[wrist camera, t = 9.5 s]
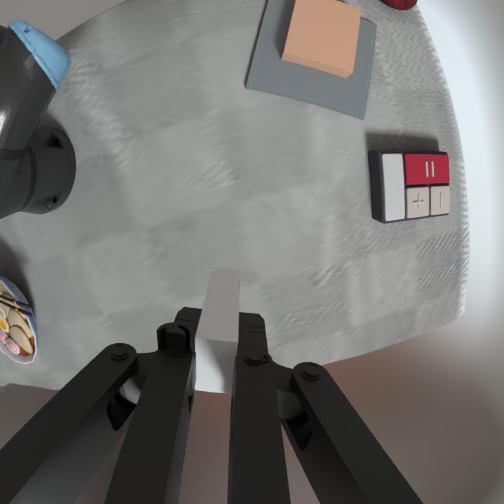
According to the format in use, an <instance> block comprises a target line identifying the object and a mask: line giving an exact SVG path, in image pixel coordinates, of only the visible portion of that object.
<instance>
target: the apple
mask: <svg viewBox="0 0 504 504" xmlns="http://www.w3.org/2000/svg"><path fill="white" fill-rule="evenodd" d="M381 1H382V2H383V3H384V4H386V5H387V6H389V7H391V8H394V9H398V10H408V9H410V8H412V7H413V6H415V4H416V3H417V0H381Z"/></svg>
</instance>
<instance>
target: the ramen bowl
mask: <svg viewBox="0 0 504 504" xmlns="http://www.w3.org/2000/svg"><path fill="white" fill-rule="evenodd" d="M37 348H38V335H37V323H36V320H35V318H34V315H33V312H32V309H31V307H30V305H29V304H28V302H27V300H26V299H25V297H24V295H23V294H22V293H21V291H20V290H19V289H18V288H17V287H16V286H15V285H14V283H12V282H11V281H9V280H8V279H6V278H5V277H3V276H1V275H0V350H1V351H2V352H3V353H4V354H5V355H7V356H8V357H9V358H11V359H12V360H13V361H16V362H19V363H22V364H28V363H31V362H33V361H34V358H35V356H36V353H37Z"/></svg>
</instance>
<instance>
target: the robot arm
mask: <svg viewBox="0 0 504 504" xmlns="http://www.w3.org/2000/svg"><path fill="white" fill-rule="evenodd" d="M70 64H71V57H70V54H69V53H68V52H67V51H66V50H65V49H64V48H63V47H62V46H61V45H59V44H58V43H57V42H55V41H54V40H52V39H51V38H50V37H49V36H47V35H46V34H44V33H43V32H41V31H40V30H38V29H37V28H34V27H33V26H31V25H30V24H28V23H27V22H25V21H23V20H21V19H14V20H13V21H12V22H11V23H9V25H8V28H6V27H3V26H1V25H0V219H1V218H3V217H6V216H9V215H11V214H14V213H16V212H19V211H21V212H27V213H33V214H44V213H48V212H50V211H53V210H55V209H57V208H59V207H60V206H61V205H62V204H63V203H64V202H65V200H66V199H67V197H68V196H69V194H70V192H71V189H72V187H73V183H74V179H75V171H76V161H75V154H74V150H73V147H72V145H71V143H70V141H69V139H68V138H67V136H66V135H65V134H64V133H62V132H61V131H59V130H57V129H53V128H40V129H37V127H38V125H39V123H40V121H41V119H42V117H43V115H44V113H45V111H46V109H47V107H48V105H49V103H50V101H51V100H52V98H53V96H54V94H55V93H56V92H57V91H58V90H59V85H60V83H61V81H62V79H63V78H64V76H65V74H66V73H67V71H68V69H69V67H70ZM36 129H37V130H36ZM239 294H240V271H237V270H227V269H217V268H213V271H212V275H211V279H210V282H209V286H208V290H207V294H206V297H205V301H204V305H203V309H197V308H189V307H184V308H182V309H181V310H180V311H178V313H177V315H176V318H175V320H174V323H167V324H164V325H162V326H160V327H159V328H158V329H157V340H158V350H157V351H155V352H151V353H137V352H136V350H135V349H134V347H132V346H131V345H129V344H125V343H115V344H111V345H109V346H108V347H106V348H105V349H104V350H103V351H101V352H100V353H99V354H98V355H97V356H96V357H95V358H94V359H93V360H92V361H91V362H90V363H89V364H87V365H86V366H85V367H84V368H83V369H82V370H81V371H80V372H79V373H78V374H77V375H76V376H75V377H74V378H73V379H72V380H70V381H69V382H68V383H67V384H66V385H65V386H64V387H63V388H62V389H61V390H60V391H59V392H58V393H57V394H56V395H55V396H54V397H53V398H52V399H51V400H50V401H49V402H48V403H47V404H45V405H44V406H43V407H42V408H41V409H40V410H39V411H38V412H37V413H36V414H35V415H34V416H33V417H32V418H31V419H30V420H29V421H28V422H27V423H26V424H25V425H24V426H23V427H22V428H21V429H20V430H19V431H18V432H17V433H16V434H15V435H14V437H12V438H11V439H10V440H9V441H8V442H7V443H6V445H5V446H4V447H3V448H2V449H1V450H0V504H74V503H75V501H76V500H77V498H78V497H79V496H80V494H81V493H82V492H83V490H84V489H85V487H86V486H87V485H88V483H89V482H90V480H91V479H92V477H93V476H94V475H95V473H96V472H97V471H98V469H99V468H100V467H101V465H102V464H103V462H104V461H105V459H106V458H107V457H108V455H109V454H110V452H111V451H112V450H113V448H114V447H115V446H116V444H117V443H118V441H119V440H120V438H121V437H122V436H123V434H124V433H125V432H126V430H127V429H128V430H127V433H126V436H125V439H124V442H123V445H122V448H121V451H120V454H119V457H118V461H117V463H116V466H115V470H114V473H113V476H112V479H111V483H110V486H109V489H108V493H107V496H106V500H105V503H104V504H178V501H179V493H180V485H181V478H182V472H183V465H184V459H185V452H186V446H187V439H188V432H189V427H190V420H191V414H192V408H193V403H194V388H195V390H200V391H209V392H218V393H229V394H232V398H231V406H230V436H229V437H230V439H229V464H228V465H229V466H228V495H227V504H291V502H290V494H289V486H288V477H287V470H286V461H285V453H284V445H283V437H282V429H281V424H282V426H283V428H284V430H285V432H286V434H287V437H288V438H289V441H290V443H291V445H292V447H293V449H294V452H295V454H296V456H297V458H298V460H299V462H300V464H301V466H302V468H303V470H304V472H305V474H306V476H307V478H308V480H309V482H310V484H311V486H312V488H313V490H314V492H315V494H316V496H317V498H318V500H319V502H320V504H423V503H422V501H421V500H420V499H419V497H418V496H417V494H416V493H415V492H414V490H412V488H411V486H410V485H409V484H408V482H407V481H406V479H405V478H404V477H403V475H402V474H401V473H400V471H399V470H398V469H397V467H396V466H395V464H394V463H393V462H392V461H391V459H390V458H389V456H388V455H387V453H386V452H385V451H384V449H383V448H382V447H381V445H380V444H379V443H378V441H377V440H376V438H375V437H374V436H373V434H372V433H371V431H370V430H369V429H368V427H367V426H366V424H365V423H364V422H363V420H362V419H361V417H360V416H359V415H358V413H357V412H356V411H355V409H354V408H353V406H352V405H351V404H350V402H349V401H348V399H347V398H346V397H345V395H344V394H343V392H342V391H341V390H340V388H339V387H338V385H337V384H336V383H335V381H334V380H333V379H332V377H331V376H330V374H329V373H328V371H327V370H326V369H325V368H324V367H323V366H321V365H319V364H316V363H312V362H303V363H299V364H297V365H296V366H295V367H294V369H291V368H287V367H284V366H281V365H278V364H277V363H275V362H274V361H273V360H272V358H271V356H270V355H269V354H268V347H267V339H266V331H265V322H264V319H263V318H262V317H261V316H260V314H254V313H243V312H239Z"/></svg>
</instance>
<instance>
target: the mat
mask: <svg viewBox="0 0 504 504" xmlns="http://www.w3.org/2000/svg"><path fill="white" fill-rule="evenodd" d="M294 2H295V0H268V4H267V7H266V11H265V15H264V18H263V22H262V26H261V29H260V33H259V37H258V40H257V44H256V48H255V52H254V56H253V60H252V64H251V68H250V72H249V76H248V80H247V84H246V89H251V90H257V91H262V92H266V93H271V94H276V95H280V96H284V97H288V98H292V99H296V100H300V101H304V102H308V103H311V104H315V105H318V106H322V107H325V108H328V109H331V110H335V111H338V112H341V113H344V114H347V115H350V116H353V117H355V118H358V119H361V120H363V119H364V116H365V110H366V104H367V98H368V92H369V85H370V79H371V71H372V64H373V56H374V47H375V38H376V27H377V24H374V23H372V22H370V21H367V20H365V19H362V18H360V25H359V33H358V41H357V48H356V55H355V62H354V68H353V73H352V74H351V75H350V76H348V77H347V78H343V77H340V76H337V75H334V74H331V73H328V72H325V71H322V70H318V69H315V68H312V67H308V66H304V65H301V64H297V63H293V62H289V61H285V60H281V57H282V53H283V49H284V44H285V40H286V36H287V32H288V27H289V23H290V19H291V15H292V10H293V6H294Z"/></svg>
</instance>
